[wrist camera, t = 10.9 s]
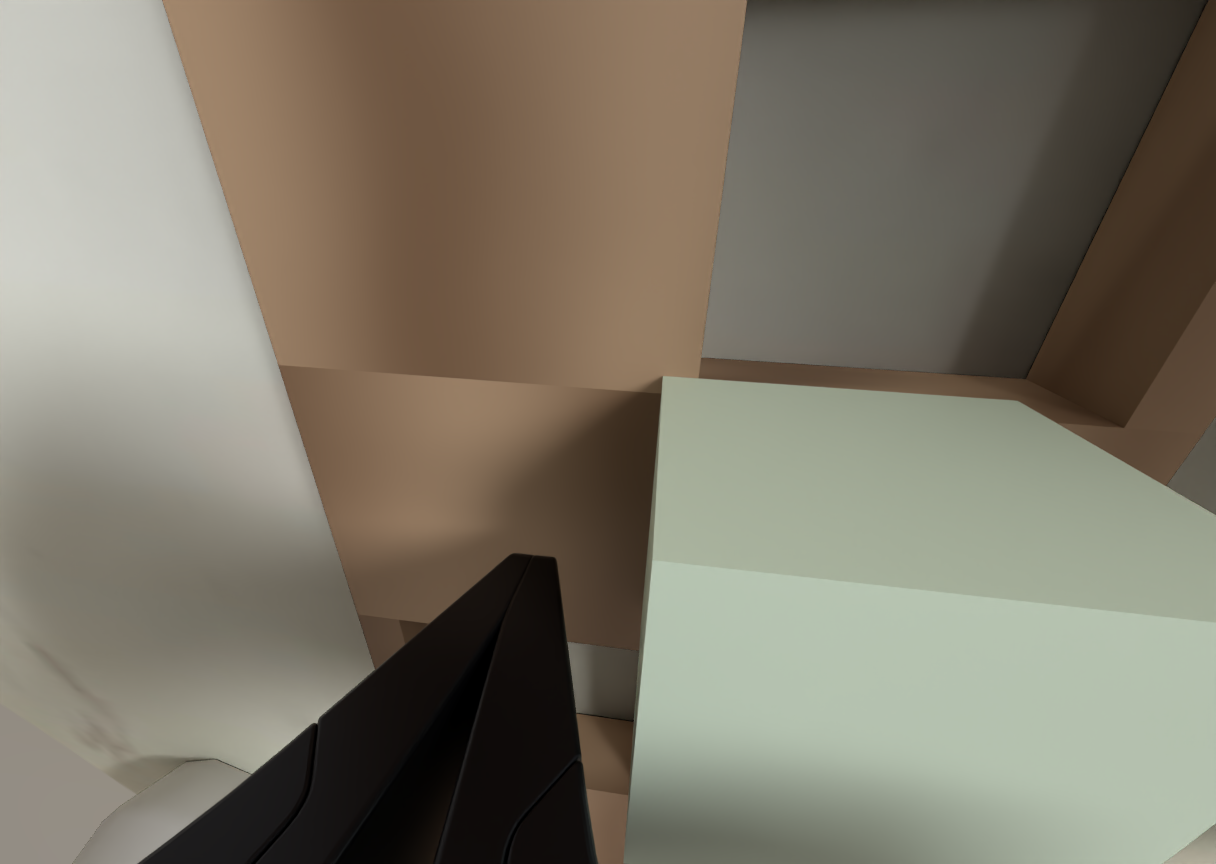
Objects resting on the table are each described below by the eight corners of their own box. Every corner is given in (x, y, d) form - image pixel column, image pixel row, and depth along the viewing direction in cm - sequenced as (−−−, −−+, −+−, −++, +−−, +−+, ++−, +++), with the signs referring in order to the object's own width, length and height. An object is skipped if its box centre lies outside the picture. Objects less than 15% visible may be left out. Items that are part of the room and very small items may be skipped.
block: (1017, 400, 6) (1447, 649, 3) (901, 639, 9) (1060, 941, 5) (662, 375, 7) (652, 560, 3) (642, 608, 9) (623, 864, 6)
